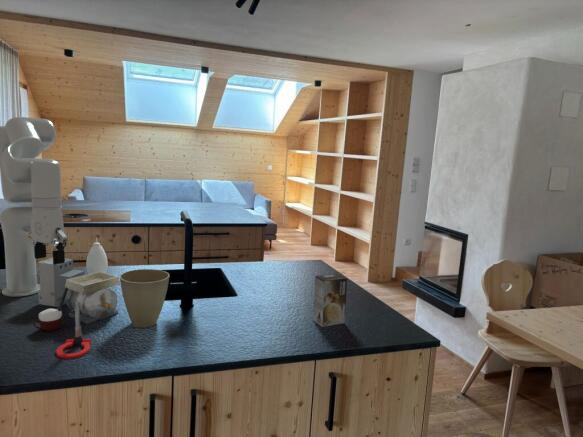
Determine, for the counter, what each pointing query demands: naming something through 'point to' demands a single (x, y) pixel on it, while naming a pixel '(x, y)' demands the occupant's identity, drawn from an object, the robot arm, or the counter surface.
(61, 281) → the circuit breaker
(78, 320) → the tow hook
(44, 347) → the counter surface
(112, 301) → the clear storage container
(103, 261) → the sauce bottle
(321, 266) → the counter surface
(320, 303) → the coffee box
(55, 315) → the cocoa
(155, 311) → the plant pot
